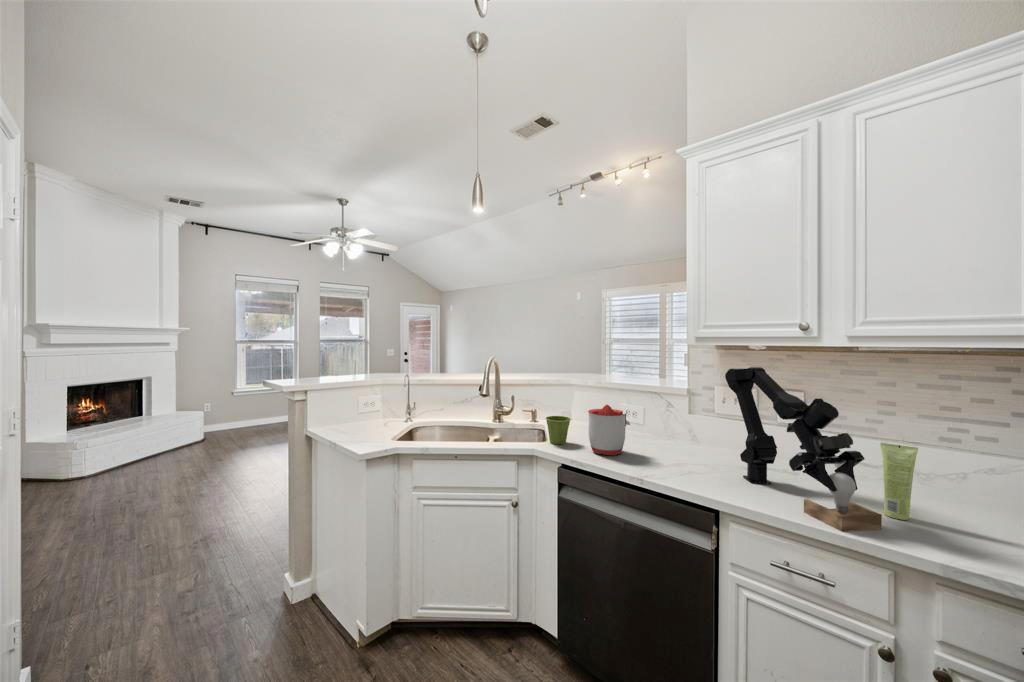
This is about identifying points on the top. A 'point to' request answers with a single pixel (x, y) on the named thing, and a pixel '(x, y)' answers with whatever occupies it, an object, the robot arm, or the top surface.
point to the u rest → (845, 516)
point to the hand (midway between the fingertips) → (845, 490)
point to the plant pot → (558, 428)
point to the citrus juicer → (607, 430)
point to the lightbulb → (842, 491)
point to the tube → (898, 478)
